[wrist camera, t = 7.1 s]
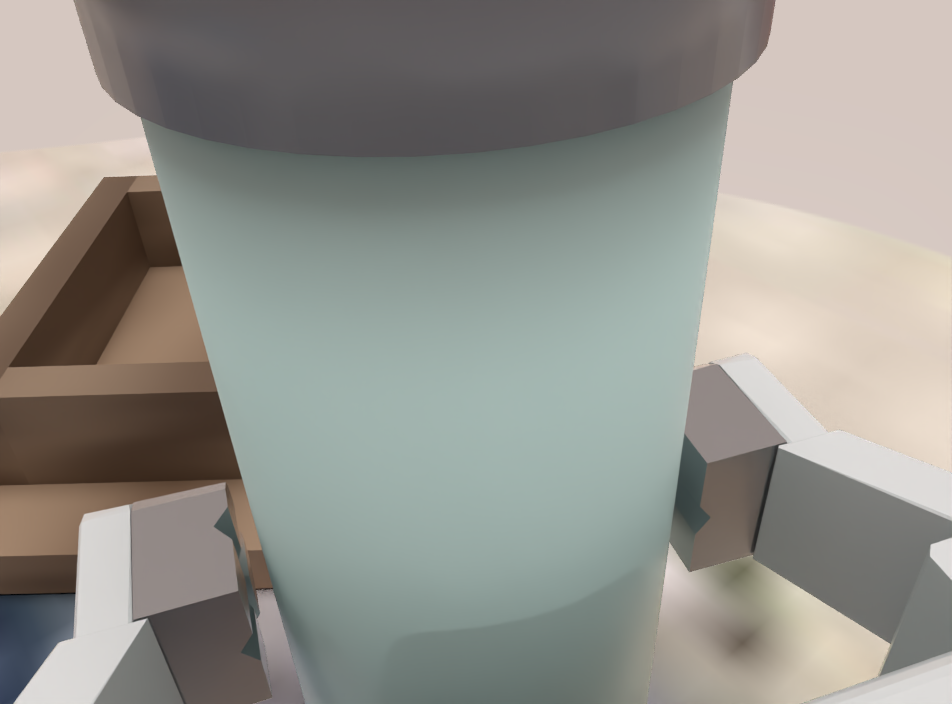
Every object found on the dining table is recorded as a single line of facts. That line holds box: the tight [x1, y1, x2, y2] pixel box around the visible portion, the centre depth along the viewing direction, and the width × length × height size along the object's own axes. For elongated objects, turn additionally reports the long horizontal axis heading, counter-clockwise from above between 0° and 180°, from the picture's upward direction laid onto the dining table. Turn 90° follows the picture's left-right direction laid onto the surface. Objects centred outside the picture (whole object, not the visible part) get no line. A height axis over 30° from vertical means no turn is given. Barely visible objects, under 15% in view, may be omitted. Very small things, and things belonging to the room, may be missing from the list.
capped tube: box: [74, 0, 775, 704], centre depth 10 cm, size 5×5×15 cm
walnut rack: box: [0, 175, 273, 594], centre depth 23 cm, size 14×14×4 cm
